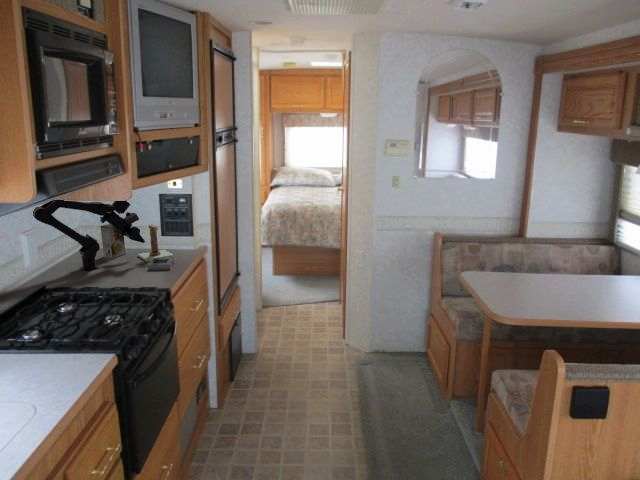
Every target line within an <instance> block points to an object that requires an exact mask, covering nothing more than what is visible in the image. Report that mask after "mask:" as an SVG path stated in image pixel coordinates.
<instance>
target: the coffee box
mask: <svg viewBox="0 0 640 480" xmlns="http://www.w3.org/2000/svg"><path fill="white" fill-rule="evenodd" d="M99 227H100V234H101V242H102V244H101V245H102V251H103V257H104V258H110V259H113V258H116V257H119V256H123V255H125V254H126V253H127V252H126V245H125V236H124V235H122V234H120V233H118V232H117V230H116V228H114V227H113V226H112V225H111V224H109V223H107V224H103V225H100V226H99Z"/></svg>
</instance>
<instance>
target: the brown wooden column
mask: <svg viewBox="0 0 640 480" xmlns="http://www.w3.org/2000/svg"><path fill="white" fill-rule="evenodd" d="M148 229H149V236H150V237H149V238H150V248H151V251H150V256H158V255H160V250H159V245H158V230H159V228H158V226H156V225H154V224H150V223H149V224H148Z"/></svg>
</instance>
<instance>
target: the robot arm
mask: <svg viewBox="0 0 640 480" xmlns="http://www.w3.org/2000/svg"><path fill="white" fill-rule="evenodd" d="M51 200H52V201H51ZM51 200H50V201H48V202H45V203H44V204H42V205H40V206H36V207H34V208H35V209H34V208H33V209H34V211H33V210H32V211H33V216H34V217H33V216H32V217H33V218H34V219H35V220H37V221H38V222H40V223H42V224H45V225H48V226H51V227H53V228H54V229H56V230H58V231H59V232H60V233H62V234H63V235H65V236H67V237H68V238H70V239H72V240H74V241H75V242H77V243H78V245H80V246H81V248H80V249H78V253H79V254H80V255H81V264H82V265H81V266H80V267H79V268H80V269H81V270H83V271H85V272H86V271H90V270H96V269H99V266H98V265H96V257H97V253H98V252H99V251H100V243H99V242H98V240H97V239H96V238H94V237H92V236H91V235H89V234H88V233H87V234H86V235H83V234H80V233H79V232H77V231H76V230H75V229H73V228H71V227H70V226H68V225H66V224H65V223H63V222H61V221H60V220H59V219H58V218H56V217H55V216H54V215H53V214H54V213H55V212H57V210H59V209H60V208H62V209H69V210H77V211H85V212H89V213H91V214H94V215H98V216H99V219H100V220H99V221H100V223H102V224H105V222H107V224H111V225H112V226H113V227H114V228H116V230H117V232H118V233H120V234H122V235H124V237H127V238H128V239H129V240H131V241H134V242H137V243H138V242H139V243H143V244H145V243H146V241H145V239H144V238H143V237H142V235H141V229H140V228H139V227H138V226H135V225H133V223H135V222H137V221H140V217H139V216H138V214H137V213H136V212H129V211H127V210H128V209H129V207H130V206H131V203H130V202H128V201H127V200H125V201H115V200H114V201H113V202H112V204H110V203H104V202H102V201H90V202H89V201H87V202H86V201H85V202H84V201H77V200H73V201H64V200H53V199H51ZM126 211H127V212H126ZM125 212H126V213H125ZM124 213H125V217H124V218H123V217H122V216H120V215H123V214H124Z"/></svg>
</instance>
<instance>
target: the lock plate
mask: <svg viewBox="0 0 640 480" xmlns="http://www.w3.org/2000/svg"><path fill="white" fill-rule="evenodd" d="M175 261H176V260H175V256H174V257H171V258H153V259H152V260H151V261H149V263H148V265H147V268H148V269H147V270H148V271H170V270H171V269H172V268H173V266H174V264H175Z"/></svg>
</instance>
